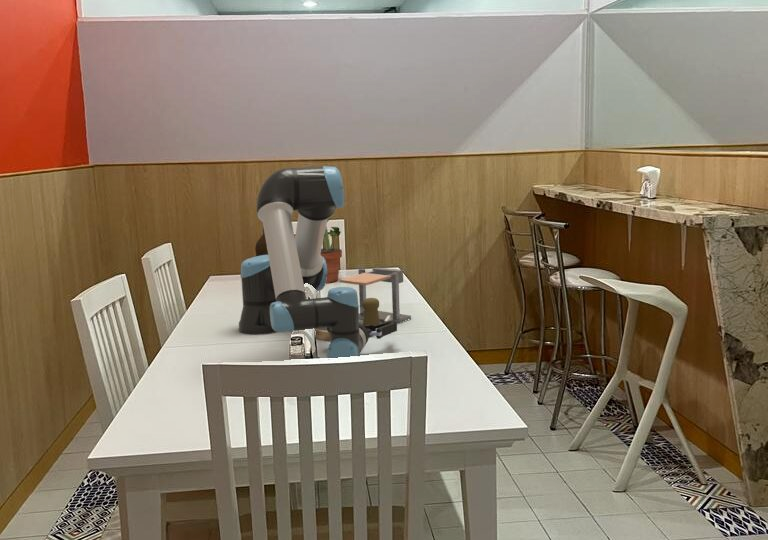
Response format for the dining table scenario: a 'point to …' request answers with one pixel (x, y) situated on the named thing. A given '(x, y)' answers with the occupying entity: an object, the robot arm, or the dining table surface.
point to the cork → (371, 311)
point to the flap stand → (395, 301)
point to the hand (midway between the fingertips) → (366, 319)
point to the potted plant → (331, 255)
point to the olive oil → (261, 246)
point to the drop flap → (373, 277)
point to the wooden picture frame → (322, 334)
